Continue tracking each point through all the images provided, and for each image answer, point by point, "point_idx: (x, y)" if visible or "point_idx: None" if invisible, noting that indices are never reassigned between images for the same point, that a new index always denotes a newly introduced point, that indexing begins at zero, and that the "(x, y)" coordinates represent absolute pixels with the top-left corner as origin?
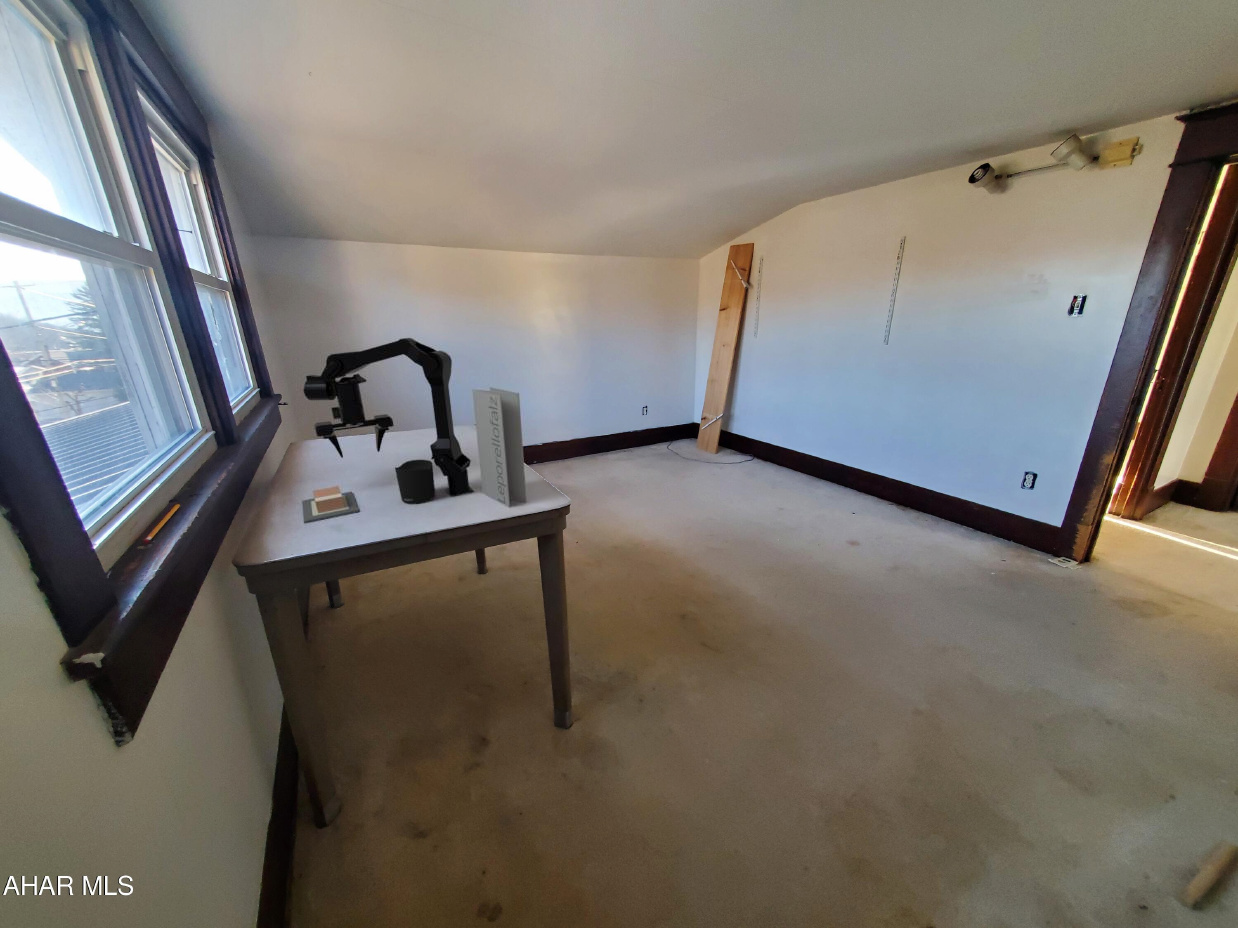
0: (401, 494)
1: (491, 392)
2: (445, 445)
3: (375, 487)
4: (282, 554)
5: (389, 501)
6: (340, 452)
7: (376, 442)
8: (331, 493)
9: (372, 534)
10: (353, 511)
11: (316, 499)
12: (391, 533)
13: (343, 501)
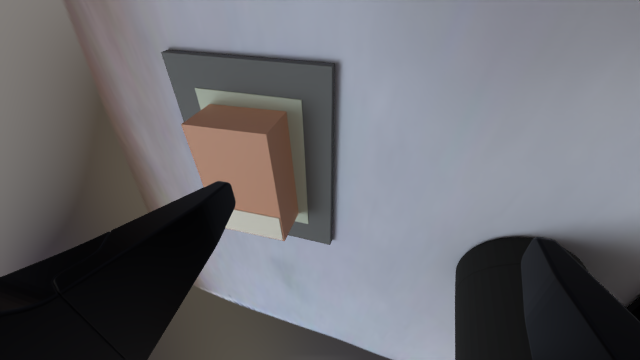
0: (455, 292)
1: None
2: None
3: (452, 42)
4: (217, 288)
5: (427, 233)
6: (202, 251)
7: (570, 347)
8: (250, 195)
9: (339, 326)
10: (318, 240)
11: None
12: (367, 342)
13: (290, 228)
